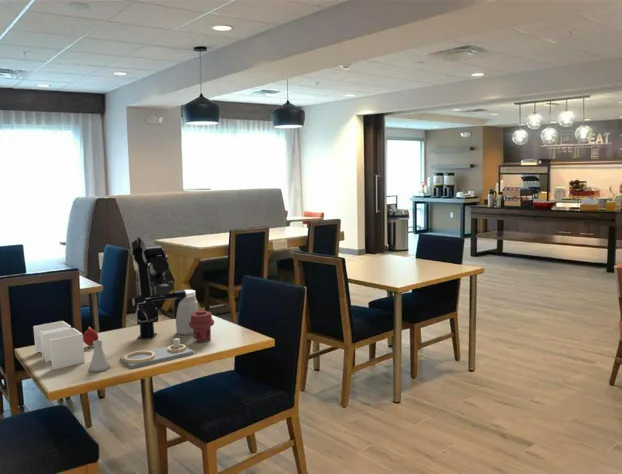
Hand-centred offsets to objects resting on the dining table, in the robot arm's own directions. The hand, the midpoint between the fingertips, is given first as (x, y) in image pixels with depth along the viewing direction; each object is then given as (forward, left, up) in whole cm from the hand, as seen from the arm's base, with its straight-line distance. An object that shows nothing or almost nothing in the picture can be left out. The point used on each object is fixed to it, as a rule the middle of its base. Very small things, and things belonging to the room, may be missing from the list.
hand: (162, 320), depth 207 cm
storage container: (-5, -42, -15) cm, 45 cm away
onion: (-17, -35, -15) cm, 42 cm away
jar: (-34, 0, -15) cm, 38 cm away
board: (-3, -4, -15) cm, 15 cm away
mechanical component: (-22, +9, -15) cm, 28 cm away
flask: (+9, -21, -15) cm, 27 cm away
